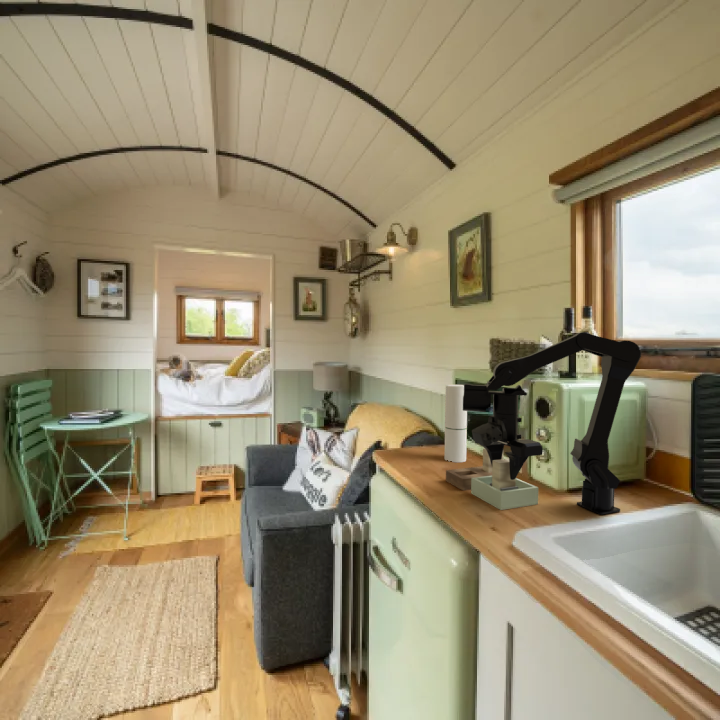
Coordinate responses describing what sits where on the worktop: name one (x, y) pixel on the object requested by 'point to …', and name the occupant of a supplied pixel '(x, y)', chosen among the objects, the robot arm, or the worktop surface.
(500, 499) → the green open tray
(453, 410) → the cylindrical container
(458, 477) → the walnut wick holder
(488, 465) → the block
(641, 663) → the worktop surface
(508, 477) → the block
